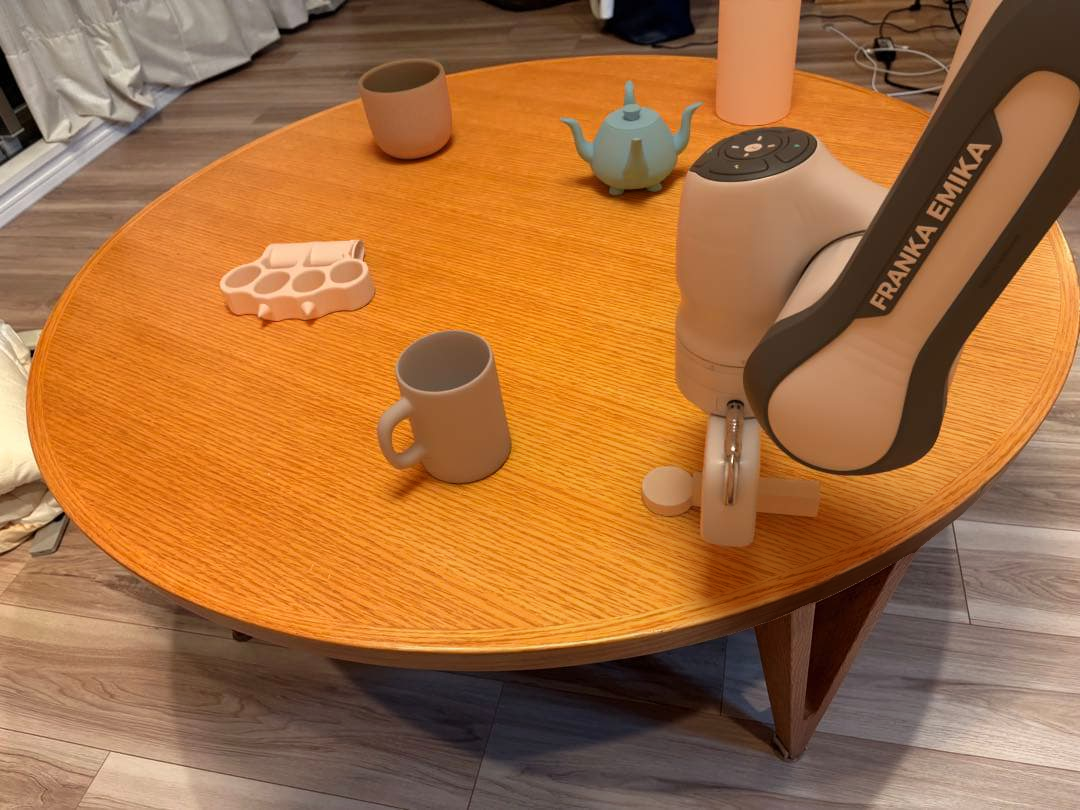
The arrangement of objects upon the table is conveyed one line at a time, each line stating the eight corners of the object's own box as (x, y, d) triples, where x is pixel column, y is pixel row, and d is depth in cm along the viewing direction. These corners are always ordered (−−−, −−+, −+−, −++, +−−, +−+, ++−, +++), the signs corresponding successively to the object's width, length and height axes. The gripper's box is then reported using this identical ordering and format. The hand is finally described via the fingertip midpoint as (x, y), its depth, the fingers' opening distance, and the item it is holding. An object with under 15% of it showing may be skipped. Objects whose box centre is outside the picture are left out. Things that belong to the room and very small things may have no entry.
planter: (414, 123, 130) (398, 53, 123) (474, 136, 124) (461, 64, 117) (359, 157, 124) (339, 86, 116) (420, 173, 118) (403, 99, 110)
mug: (473, 405, 80) (452, 316, 73) (530, 447, 75) (514, 356, 68) (372, 473, 75) (339, 384, 68) (426, 523, 70) (397, 433, 63)
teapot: (703, 175, 108) (705, 100, 101) (635, 217, 102) (633, 141, 96) (631, 149, 116) (628, 78, 109) (564, 187, 110) (557, 114, 103)
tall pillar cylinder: (748, 88, 126) (759, -97, 109) (805, 106, 119) (827, -89, 102) (700, 113, 122) (704, -77, 105) (757, 132, 115) (772, -66, 98)
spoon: (815, 488, 68) (819, 469, 67) (817, 530, 65) (821, 511, 64) (645, 474, 72) (644, 455, 70) (639, 513, 68) (638, 495, 67)
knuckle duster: (391, 253, 103) (362, 326, 92) (256, 260, 105) (213, 331, 95) (384, 230, 100) (354, 301, 90) (246, 237, 103) (202, 308, 92)
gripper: (785, 471, 50) (767, 599, 59) (784, 276, 64) (770, 404, 73) (680, 463, 51) (678, 589, 61) (702, 274, 65) (698, 400, 75)
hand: (728, 486), depth 67 cm, fingers open, 7 cm apart
